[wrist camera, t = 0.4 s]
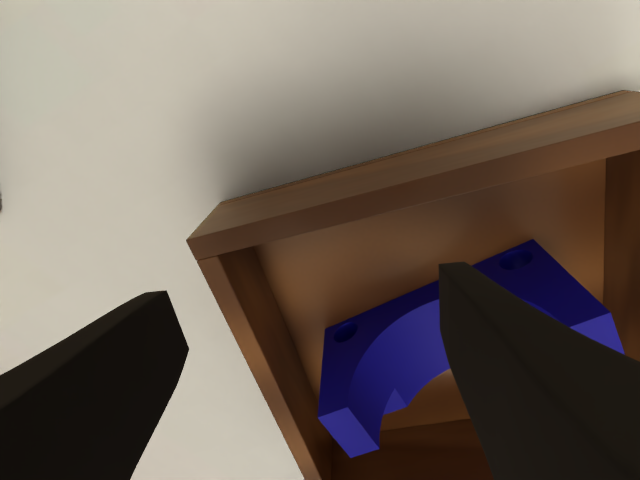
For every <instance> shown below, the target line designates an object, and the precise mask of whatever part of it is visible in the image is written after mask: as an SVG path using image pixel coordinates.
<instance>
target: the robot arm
mask: <svg viewBox="0 0 640 480" xmlns="http://www.w3.org/2000/svg"><path fill="white" fill-rule="evenodd" d="M438 265H439V315H440V333H441V337H442V340H443V344H444V348H445V352H446V356H447V359H448V363H449V366H450V369H451V371H452V374H453V376H454V379H455V382H456V384H457V387H458V389H459V392H460V394H461V397H462V399H463V401H464V404H465V406H466V409H467V411H468V414H469V416H470V419H471V421H472V424H473V426H474V429H475V431H476V433H477V436H478V438H479V441H480V443H481V446H482V448H483V451H484V453H485V456H486V459H487V461H488V464H489V467H490V470H491V473H492V475H493V478H494V480H640V362H639V361H637V360H635V359H633V358H630V357H628V356H626V355H624V354H622V353H620V352H618V351H616V350H614V349H612V348H609V347H607V346H605V345H603V344H601V343H599V342H597V341H595V340H593V339H591V338H589V337H587V336H585V335H583V334H581V333H579V332H577V331H575V330H573V329H571V328H570V327H568V326H566V325H564V324H563V323H561V322H559V321H557V320H555V319H554V318H552V317H550V316H548V315H547V314H545V313H543V312H541V311H540V310H538V309H536V308H535V307H533V306H531V305H530V304H528V303H527V302H525V301H523V300H522V299H520V298H519V297H517V296H515V295H514V294H512V293H511V292H509V291H508V290H506V289H505V288H503V287H502V286H500V285H499V284H497V283H496V282H494V281H493V280H491V279H490V278H488V277H487V276H485V275H484V274H482V273H481V272H480V271H478V270H477V269H475V268H474V267H472V266H471V265H469V264H467V263H466V262H464V261H463V262H453V263H443V264H438ZM188 351H189V347H188V345H187V342H186V340H185V337H184V334H183V332H182V329H181V327H180V324H179V321H178V319H177V316H176V314H175V311H174V308H173V306H172V303H171V301H170V298H169V296H168V293H167V290H166V291H156V292H146V293H144V294H141V295H139V296H137V297H135V298H133V299H131V300H129V301H128V302H126V303H124V304H122V305H121V306H119V307H117V308H115V309H114V310H112V311H110V312H109V313H107V314H105V315H104V316H102V317H100V318H99V319H97V320H95V321H94V322H92V323H90V324H89V325H87V326H85V327H84V328H82V329H80V330H79V331H77V332H76V333H74V334H72V335H71V336H69V337H67V338H66V339H64V340H62V341H60V342H59V343H57V344H55V345H53V346H52V347H50V348H48V349H46V350H45V351H43V352H41V353H40V354H38V355H36V356H34V357H33V358H31V359H29V360H27V361H26V362H24V363H22V364H20V365H19V366H17V367H15V368H13V369H11V370H9V371H8V372H6V373H4V374H2V375H0V480H130V479H131V476H132V474H133V472H134V470H135V468H136V466H137V464H138V462H139V460H140V458H141V456H142V454H143V452H144V450H145V448H146V446H147V444H148V442H149V440H150V438H151V436H152V434H153V432H154V430H155V428H156V426H157V424H158V422H159V420H160V418H161V416H162V414H163V412H164V410H165V408H166V406H167V404H168V402H169V400H170V398H171V396H172V394H173V392H174V390H175V388H176V386H177V384H178V381H179V378H180V375H181V373H182V370H183V367H184V364H185V361H186V357H187V354H188Z"/></svg>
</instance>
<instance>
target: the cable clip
mask: <svg viewBox="0 0 640 480" xmlns="http://www.w3.org/2000/svg"><path fill="white" fill-rule="evenodd" d="M472 267H474V268H475V269H477V270H478V271H480V272H481V273H482V274H484V275H485V276H487V277H488V278H490V279H491V280H493V281H494V282H496V283H497V284H499V285H500V286H502V287H503V288H505V289H506V290H508V291H509V292H511V293H512V294H514V295H515V296H517V297H519V298H520V299H522V300H523V301H525V302H527V303H528V304H530V305H531V306H533V307H535V308H536V309H538V310H540V311H541V312H543V313H545V314H547V315H548V316H550V317H552V318H554V319H555V320H557V321H559V322H561V323H563V324H564V325H566V326H568V327H570V328H571V329H573V330H575V331H577V332H579V333H581V334H583V335H585V336H587V337H589V338H591V339H593V340H595V341H597V342H599V343H601V344H603V345H605V346H607V347H609V348H612V349H614V350H616V351H618V352H620V353H622V354H624V355H625V353H624V350H623V347H622V344H621V341H620V339H619V336H618V333H617V330H616V327H615V324H614V321H613V318H612V315H611V312H610V311H609V310H607V309H606V308H605V307H604V306H603V305H602V304H601V303H600V302H599V301H598V300H597V299H596V298H595V297H594V296H593V295H592V294H591V293H590V292H589V291H588V290H586V289H585V288H584V287H583V286H582V285H581V284H580V283H579V282H578V281H577V280H576V279H575V278H574V277H573V276H572V275H571V274H570V273H569V272H568V271H566V270H565V269H564V268H563V267H562V266H561V265H560V264H559V263H558V262H557V261H556V260H555V259H554V258H553V257H552V256H551V255H550V254H549V253H548V252H546V251H545V250H544V249H543V248H542V247H541V246H540V245H539V244H538V243H537V242H536V241H535V240H534V239H532V240H529V241H527V242H525V243H522V244H520V245H518V246H515V247H513V248H511V249H509V250H506V251H504V252H502V253H499V254H497V255H495V256H492V257H490V258H488V259H485V260H483V261H481V262H479V263H476V264H474V265H472ZM448 369H450V366H449V363H448V359H447V356H446V352H445V348H444V344H443V340H442V337H441V333H440V315H439V280H437V281H435V282H432V283H430V284H428V285H426V286H423V287H421V288H419V289H416V290H414V291H412V292H409V293H407V294H405V295H402V296H400V297H398V298H396V299H393V300H391V301H389V302H386V303H384V304H382V305H379V306H377V307H375V308H372V309H370V310H368V311H366V312H363V313H361V314H359V315H356V316H354V317H352V318H349V319H347V320H345V321H342V322H340V323H338V324H336V325H333V326H331V327H329V328H326V329H325V334H324V346H323V358H322V370H321V382H320V394H319V406H318V419H319V420H320V422H321V423H322V424H323V425H324V426H325V428H326V429H327V430H328V431H329V432H330V434H331V435H332V436H333V437H334V438H335V440H336V441H337V442H338V443H339V445H340V446H341V447H342V448H343V449H344V451H345V452H346V453H347V454H348V455H349V457H350V458H352V457H356V456H359V455H362V454H365V453H368V452H371V451H375V450H378V449H380V445H379V436H380V426H381V421H382V417H383V415H385V414H388V413H390V412H393V411H396V410H399V409H402V408H405V407H408V405H409V404H410V402H411V401H412V399H413V398H414V397H415V395H416V394H417V393H418V392H419V391H420V390H421V389H422V388H423V387H424V386H425V385H426V384H427V383H428V382H430V381H431V380H432V379H433V378H435V377H436V376H438V375H439V374H441V373H443V372H444V371H446V370H448Z"/></svg>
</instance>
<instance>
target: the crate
mask: <svg viewBox="0 0 640 480" xmlns="http://www.w3.org/2000/svg"><path fill="white" fill-rule="evenodd" d="M532 239H534V240H535V241H536V242H537V243H538V244H539V245H540V246H541V247H542V248H543V249H544V250H545V251H546V252H548V253H549V254H550V255H551V256H552V257H553V258H554V259H555V260H556V261H557V262H558V263H559V264H560V265H561V266H562V267H563V268H564V269H565V270H566V271H568V272H569V273H570V274H571V275H572V276H573V277H574V278H575V279H576V280H577V281H578V282H579V283H580V284H581V285H582V286H583V287H584V288H585V289H586V290H588V291H589V292H590V293H591V294H592V295H593V296H594V297H595V298H596V299H597V300H598V301H599V302H600V303H601V304H602V305H603V306H604V307H605V308H606V309H607V310H609V311H610V312H611V315H612V318H613V321H614V324H615V327H616V330H617V333H618V336H619V339H620V341H621V344H622V347H623V350H624V353H625V355H626V356H628V357H630V358H633V359H635V360H637V361H639V362H640V92H635V91H619V92H616V93H612V94H608V95H605V96H601V97H598V98H594V99H590V100H587V101H583V102H580V103H576V104H572V105H569V106H565V107H562V108H558V109H554V110H551V111H547V112H544V113H540V114H536V115H533V116H529V117H526V118H522V119H518V120H515V121H511V122H508V123H504V124H500V125H497V126H493V127H490V128H486V129H482V130H479V131H475V132H472V133H468V134H464V135H461V136H457V137H454V138H450V139H446V140H443V141H439V142H436V143H432V144H428V145H425V146H421V147H418V148H414V149H410V150H407V151H403V152H399V153H396V154H392V155H389V156H385V157H381V158H378V159H374V160H371V161H367V162H363V163H360V164H356V165H353V166H349V167H345V168H342V169H338V170H335V171H331V172H327V173H324V174H320V175H317V176H313V177H309V178H306V179H302V180H299V181H295V182H291V183H288V184H284V185H281V186H277V187H273V188H270V189H266V190H263V191H259V192H255V193H252V194H248V195H245V196H241V197H237V198H234V199H230V200H227V201H223V202H220V203H219V205H218V206H217V207H216V208H215V209H214V210H213V211H212V212H211V213H210V214H209V215H208V216H207V218H206V219H205V220H204V221H203V222H202V223H201V224H200V225H199V226H198V228H197V229H196V230H195V231H194V232H193V233H192V234H191V235H190V236H189V237H188V239H187V240H186V241H187V243H188V245H189V247H190V249H191V251H192V253H193V255H194V257H195V259H196V260H197V263H198V265H199V267H200V269H201V271H202V273H203V275H204V277H205V279H206V281H207V283H208V285H209V287H210V289H211V291H212V293H213V295H214V297H215V299H216V301H217V303H218V305H219V307H220V309H221V311H222V313H223V315H224V317H225V319H226V321H227V323H228V325H229V327H230V329H231V331H232V333H233V335H234V337H235V339H236V341H237V343H238V345H239V348H240V350H241V352H242V354H243V356H244V358H245V360H246V362H247V364H248V366H249V368H250V370H251V372H252V374H253V376H254V378H255V380H256V382H257V384H258V386H259V388H260V390H261V392H262V394H263V396H264V398H265V400H266V402H267V404H268V406H269V408H270V410H271V412H272V414H273V416H274V418H275V420H276V422H277V424H278V426H279V428H280V430H281V432H282V434H283V436H284V438H285V440H286V442H287V444H288V446H289V448H290V450H291V452H292V454H293V456H294V458H295V460H296V462H297V464H298V467H299V469H300V471H301V473H302V475H303V477H304V479H305V480H494V478H493V475H492V473H491V470H490V467H489V464H488V461H487V459H486V456H485V453H484V451H483V448H482V446H481V443H480V441H479V438H478V436H477V433H476V431H475V429H474V426H473V424H472V421H471V419H470V416H469V414H468V411H467V409H466V406H465V404H464V401H463V399H462V397H461V394H460V392H459V389H458V387H457V384H456V382H455V379H454V376H453V374H452V371H451V369H448V370H446V371H444V372H443V373H441V374H439V375H438V376H436V377H435V378H433V379H432V380H431V381H430V382H428V383H427V384H426V385H425V386H424V387H423V388H422V389H421V390H420V391H419V392H418V393H417V394H416V395H415V397H414V398H413V399H412V401H411V402H410V404H409V405H408V407H405V408H402V409H399V410H396V411H393V412H390V413H388V414H385V415H383V417H382V421H381V426H380V436H379V445H380V449H378V450H375V451H371V452H368V453H365V454H362V455H359V456H356V457H352V458H350V457H349V455H348V454H347V453H346V452H345V451H344V449H343V448H342V447H341V446H340V445H339V443H338V442H337V441H336V440H335V438H334V437H333V436H332V435H331V434H330V432H329V431H328V430H327V429H326V428H325V426H324V425H323V424H322V423H321V422H320V420H319V419H318V406H319V394H320V382H321V370H322V358H323V346H324V334H325V329H326V328H329V327H331V326H333V325H336V324H338V323H340V322H342V321H345V320H347V319H349V318H352V317H354V316H356V315H359V314H361V313H363V312H366V311H368V310H370V309H372V308H375V307H377V306H379V305H382V304H384V303H386V302H389V301H391V300H393V299H396V298H398V297H400V296H402V295H405V294H407V293H409V292H412V291H414V290H416V289H419V288H421V287H423V286H426V285H428V284H430V283H432V282H435V281H437V280H439V265H438V264H443V263H453V262H463V261H464V262H466V263H467V264H469V265H471V266H472V265H474V264H476V263H479V262H481V261H483V260H485V259H488V258H490V257H492V256H495V255H497V254H499V253H502V252H504V251H506V250H509V249H511V248H513V247H515V246H518V245H520V244H522V243H525V242H527V241H529V240H532Z"/></svg>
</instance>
